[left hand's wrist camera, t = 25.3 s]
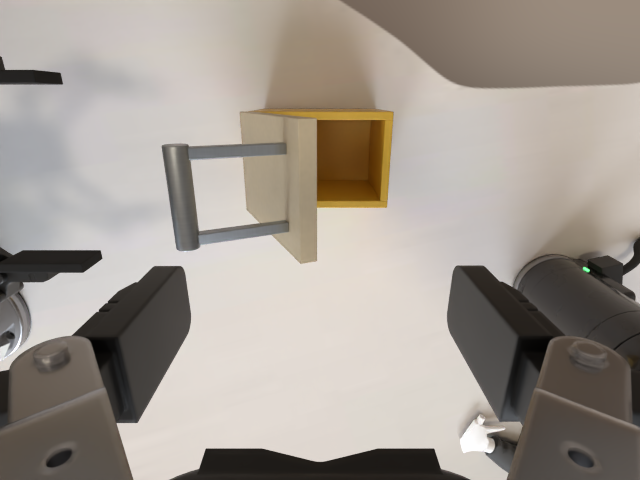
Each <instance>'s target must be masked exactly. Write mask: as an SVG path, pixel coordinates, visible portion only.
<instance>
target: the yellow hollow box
mask: <svg viewBox="0 0 640 480" xmlns="http://www.w3.org/2000/svg"><path fill="white" fill-rule="evenodd" d="M248 112H262V113H272V114H281V115H291V116H301V117H311V118H317V208H387V199H388V184H389V169H390V155H391V140H392V126H393V112H391V111H385V110H379V109H260V110H254V111H248Z"/></svg>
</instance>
